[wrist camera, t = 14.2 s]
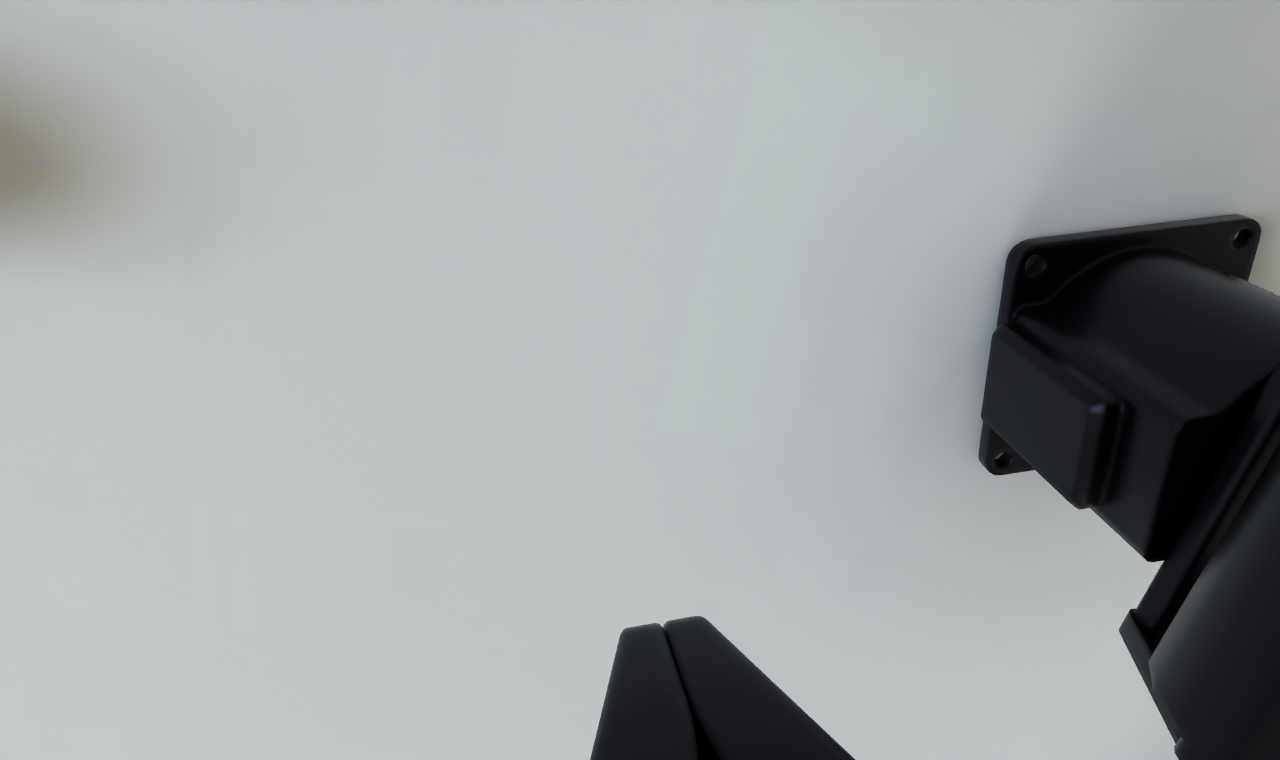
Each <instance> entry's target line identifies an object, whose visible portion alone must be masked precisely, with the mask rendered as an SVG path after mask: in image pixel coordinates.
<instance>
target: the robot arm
mask: <svg viewBox="0 0 1280 760" xmlns="http://www.w3.org/2000/svg"><path fill="white" fill-rule="evenodd" d="M1238 232H1239V234H1238V236H1237V238H1236V239H1235V240H1234V241H1233V238H1234V236H1235V235H1236V234H1237V233H1238ZM1260 235H1261V228H1260V225H1259V223H1258V222H1256V221H1255V220H1253V219H1251V218H1248V217H1245V216H1243V215H1236V214H1234V215H1226V216H1217V217H1209V218H1201V219H1193V220H1184V221H1176V222H1168V223H1159V224H1151V225H1143V226H1134V227H1126V228H1118V229H1109V230H1101V231H1093V232H1084V233H1076V234H1068V235H1060V236H1051V237H1043V238H1035V239H1028V240H1025V241H1021V242H1020V243H1018V244H1017V245H1016V246H1014V247H1013V249H1012V250H1011V251H1010V253H1009V255H1008V258H1007V261H1006V267H1005V274H1004V281H1003V288H1002V295H1001V302H1000V309H999V315H998V322H997V328H996V330H995V332H994V333H993V335H992V342H991V349H990V356H989V363H988V370H987V377H986V384H985V391H984V398H983V405H982V412H981V417H982V419H983V427H982V434H981V441H980V448H979V461H980V462H981V464H982V465H983V466H984V467H985V468H986V469H987V470H988V471H989V472H990V473H992V474H994V475H1005V474H1011V473H1018V472H1024V471H1030V470H1036V471H1037V472H1038V473H1039V474H1040V475H1041V476H1042V477H1043V478H1044V479H1045V480H1046V481H1047V482H1049V483H1050V484H1051V485H1052V486H1053V487H1054V488H1055V489H1056V490H1057V491H1058V492H1059V493H1060V494H1061V495H1062V496H1063V497H1064V498H1065V499H1066V500H1067V501H1069V502H1070V503H1071V504H1072V505H1073V506H1074V507H1076V508H1077V509H1085V508H1091V509H1092V510H1093V511H1094V512H1095V513H1096V514H1097V515H1098V516H1099V517H1100V518H1101V519H1103V520H1104V521H1105V522H1106V523H1107V524H1108V525H1109V526H1110V527H1111V528H1112V529H1113V530H1114V531H1115V532H1117V533H1118V534H1119V535H1120V536H1121V537H1122V538H1123V539H1124V540H1125V541H1126V542H1127V543H1128V544H1129V545H1131V546H1132V547H1133V548H1134V549H1135V550H1136V551H1137V552H1138V553H1139V554H1140V555H1141V556H1142V557H1143V558H1145V559H1146V560H1147V561H1148V562H1157V561H1162V560H1164V562H1163V563H1162V565H1161V567H1160V569H1159V570H1158V572H1157V574H1156V575H1155V577H1154V579H1153V581H1152V582H1151V584H1150V586H1149V588H1148V589H1147V591H1146V593H1145V595H1144V596H1143V598H1142V600H1141V602H1140V603H1139V605H1138V607H1137V609H1131V610H1130V611H1129V613H1128V614H1127V616H1126V618H1125V620H1124V621H1123V623H1122V625H1121V627H1120V628H1119V632H1120V634H1121V636H1122V638H1123V640H1124V642H1125V644H1126V646H1127V648H1128V650H1129V652H1130V654H1131V656H1132V658H1133V660H1134V662H1135V664H1136V666H1137V668H1138V670H1139V672H1140V674H1141V676H1142V678H1143V680H1144V682H1145V684H1146V686H1147V688H1148V690H1149V692H1150V694H1151V696H1152V698H1153V700H1154V702H1155V704H1156V706H1157V708H1158V710H1159V712H1160V714H1161V715H1162V717H1163V719H1164V721H1165V723H1166V725H1167V727H1168V729H1169V731H1170V733H1171V735H1172V737H1173V739H1174V741H1175V743H1176V745H1175V746H1174V749H1175V754H1176V756H1177V758H1178V759H1179V760H1280V296H1278V295H1275V294H1273V293H1271V292H1269V291H1267V290H1265V289H1262V288H1260V287H1258V286H1256V285H1254V284H1251V283H1249V282H1248V279H1249V275H1250V272H1251V268H1252V264H1253V261H1254V257H1255V254H1256V250H1257V247H1258V243H1259V240H1260ZM1033 255H1035V260H1034V263H1033V264H1032V265H1031V266H1030V267H1028V268H1026V269H1025V264H1026V261H1027V260H1028V259H1029V258H1030V257H1031V256H1033ZM1002 452H1004V453H1003V455H1002V456H1001V457H1000V458H998V459H996V457H997V456H998V455H999V454H1000V453H1002ZM590 760H855V759H854V758H853V757H852V756H851V755H850V754H849V753H848V752H847V751H845V750H844V749H843V748H842V747H841V746H840V745H839V744H838V743H837V742H836V741H835V740H834V739H833V738H832V737H831V736H830V735H828V734H827V733H826V732H825V731H824V730H823V729H822V728H821V727H820V726H819V725H818V724H817V723H816V722H815V721H814V720H813V719H812V718H810V717H809V716H808V715H807V714H806V713H805V712H804V711H803V710H802V709H801V708H800V707H799V706H798V705H797V704H796V703H795V702H794V701H792V700H791V699H790V698H789V697H788V696H787V695H786V694H785V693H784V692H783V691H782V690H781V689H780V688H779V687H778V686H777V685H775V684H774V683H773V682H772V681H771V680H770V679H769V678H768V677H767V676H766V675H765V674H764V673H763V672H762V671H761V670H760V669H759V668H757V667H756V666H755V665H754V664H753V663H752V662H751V661H750V660H749V659H748V658H747V657H746V656H745V655H744V654H743V653H742V652H741V651H739V650H738V649H737V648H736V647H735V646H734V645H733V644H732V643H731V642H730V641H729V640H728V639H727V638H726V637H725V636H724V635H722V634H721V633H720V632H719V631H718V630H717V629H716V628H715V627H714V626H713V625H712V624H711V623H710V622H709V621H708V620H706V619H705V618H703V617H701V616H694V617H688V618H682V619H676V620H670V621H667V622H666V623H665V624H664V626H663V628H662V626H661V625H660V624H657V623H653V624H647V625H641V626H636V627H630V628H626V629H624V630H623V631H622V633H621V635H620V638H619V642H618V646H617V651H616V655H615V659H614V663H613V667H612V671H611V676H610V680H609V684H608V688H607V692H606V696H605V701H604V705H603V709H602V713H601V717H600V721H599V726H598V730H597V734H596V738H595V742H594V746H593V751H592V755H591V759H590Z"/></svg>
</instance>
